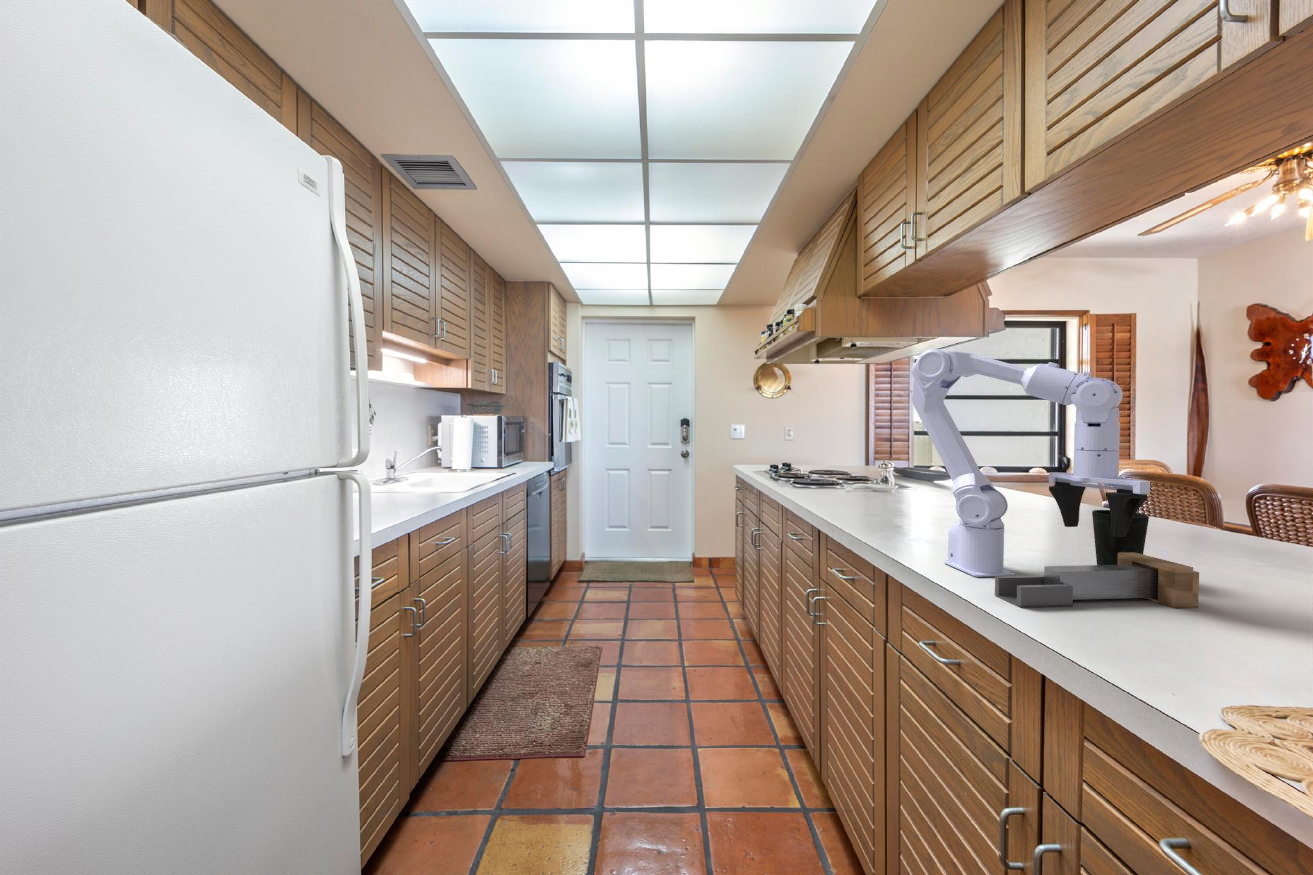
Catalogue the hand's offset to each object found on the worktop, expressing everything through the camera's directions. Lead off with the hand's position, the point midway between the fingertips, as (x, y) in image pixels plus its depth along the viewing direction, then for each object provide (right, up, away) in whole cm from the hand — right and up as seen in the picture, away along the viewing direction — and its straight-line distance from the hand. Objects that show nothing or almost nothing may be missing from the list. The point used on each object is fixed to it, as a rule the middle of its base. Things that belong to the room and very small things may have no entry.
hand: (1093, 531), depth 84 cm
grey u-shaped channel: (-13, -11, -4) cm, 17 cm away
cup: (+12, -10, +8) cm, 17 cm away
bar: (-1, -11, -3) cm, 11 cm away
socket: (+8, -11, -2) cm, 13 cm away
